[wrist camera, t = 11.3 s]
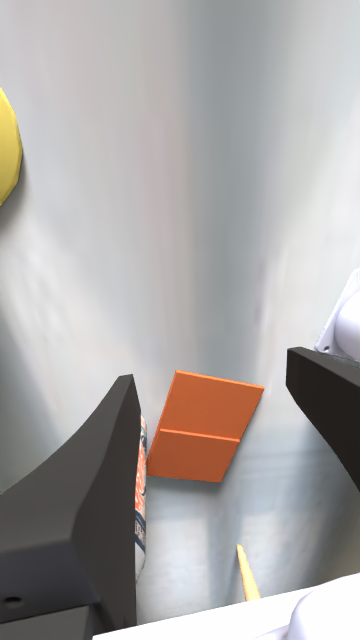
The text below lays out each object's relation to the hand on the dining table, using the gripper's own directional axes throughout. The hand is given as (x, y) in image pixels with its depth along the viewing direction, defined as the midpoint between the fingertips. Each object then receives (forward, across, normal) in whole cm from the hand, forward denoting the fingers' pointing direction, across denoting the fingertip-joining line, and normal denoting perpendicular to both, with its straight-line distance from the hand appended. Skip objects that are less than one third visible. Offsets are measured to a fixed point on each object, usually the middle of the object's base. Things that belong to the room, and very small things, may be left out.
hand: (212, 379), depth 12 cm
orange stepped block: (+10, 0, +14) cm, 17 cm away
